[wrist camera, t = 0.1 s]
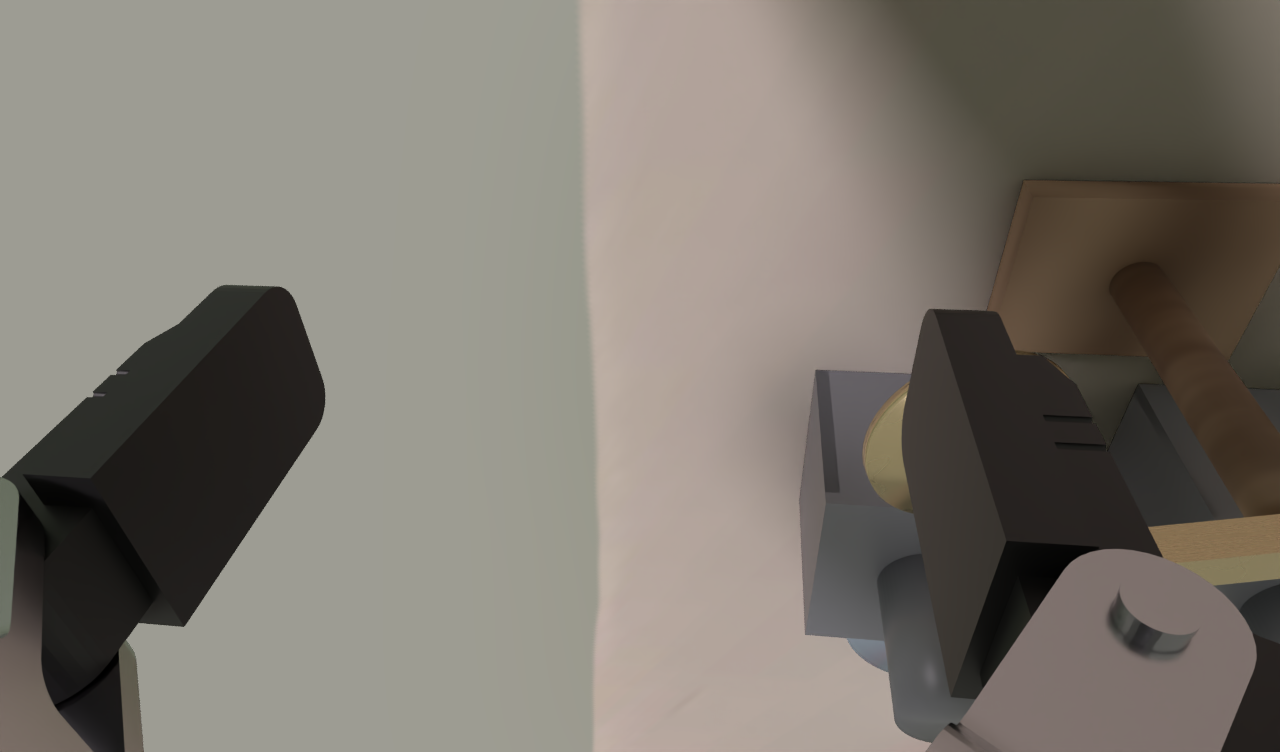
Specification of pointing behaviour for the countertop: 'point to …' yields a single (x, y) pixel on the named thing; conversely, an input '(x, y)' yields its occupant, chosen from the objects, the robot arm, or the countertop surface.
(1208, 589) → the robot arm
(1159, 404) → the hood low side
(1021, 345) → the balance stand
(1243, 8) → the countertop surface
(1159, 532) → the balance beam
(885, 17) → the countertop surface
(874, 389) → the hood high side
